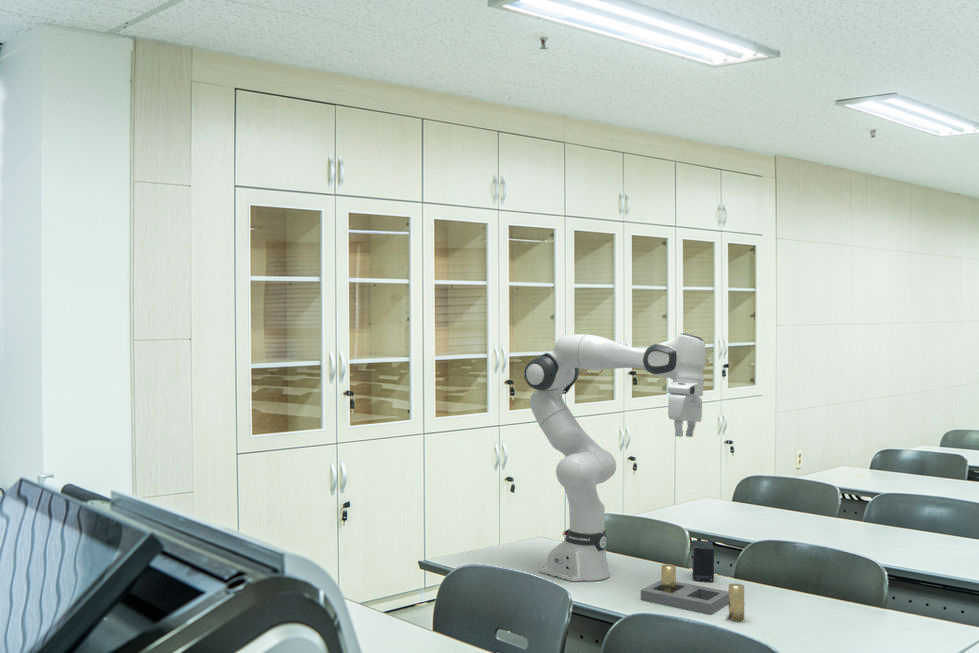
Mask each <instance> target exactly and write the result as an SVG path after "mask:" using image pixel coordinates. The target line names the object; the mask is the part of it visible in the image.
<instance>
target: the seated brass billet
mask: <svg viewBox="0 0 979 653" xmlns="http://www.w3.org/2000/svg"><path fill="white" fill-rule="evenodd" d="M676 569H677V568H676V565H675V564H672V563H671V564H670V563H663V564H662V565H661V580H662V591H664V592H669V593H674V592H676V582H677V580H676V579H677V572H676Z"/></svg>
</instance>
